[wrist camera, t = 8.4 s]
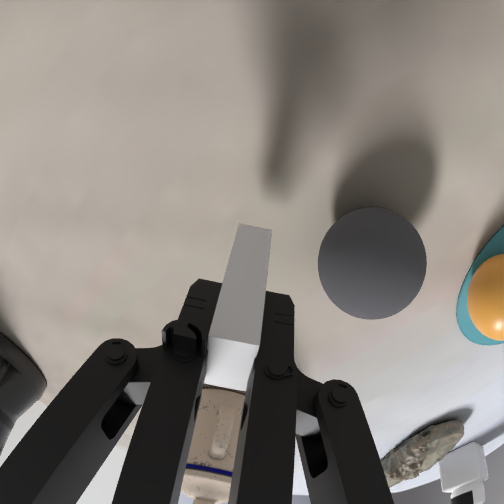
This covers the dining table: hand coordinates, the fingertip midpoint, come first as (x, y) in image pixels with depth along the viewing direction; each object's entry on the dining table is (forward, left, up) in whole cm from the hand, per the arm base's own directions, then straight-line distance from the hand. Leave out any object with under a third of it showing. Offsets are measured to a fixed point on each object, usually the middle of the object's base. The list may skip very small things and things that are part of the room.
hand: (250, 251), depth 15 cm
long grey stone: (+29, -38, -4) cm, 48 cm away
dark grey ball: (+6, +1, 0) cm, 6 cm away
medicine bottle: (+42, -35, -3) cm, 55 cm away
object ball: (+16, 0, 0) cm, 16 cm away
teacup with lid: (0, -21, -3) cm, 21 cm away
